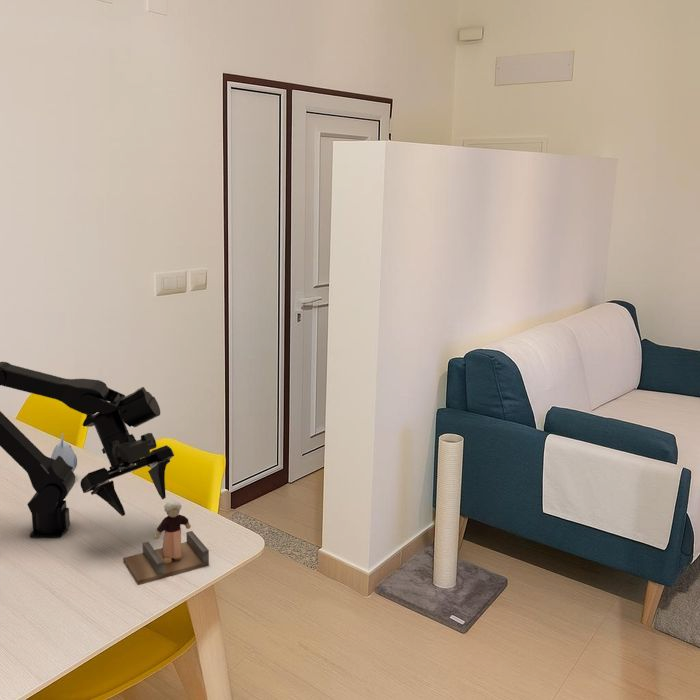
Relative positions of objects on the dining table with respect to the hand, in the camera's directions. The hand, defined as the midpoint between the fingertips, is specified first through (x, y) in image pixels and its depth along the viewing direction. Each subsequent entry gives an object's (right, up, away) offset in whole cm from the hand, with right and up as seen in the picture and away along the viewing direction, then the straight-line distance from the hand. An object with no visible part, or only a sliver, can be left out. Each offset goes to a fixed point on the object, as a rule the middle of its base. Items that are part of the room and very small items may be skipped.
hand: (144, 506), depth 148 cm
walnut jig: (+5, -11, -3) cm, 12 cm away
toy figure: (-29, -1, +32) cm, 43 cm away
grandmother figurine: (+7, -10, -2) cm, 12 cm away
